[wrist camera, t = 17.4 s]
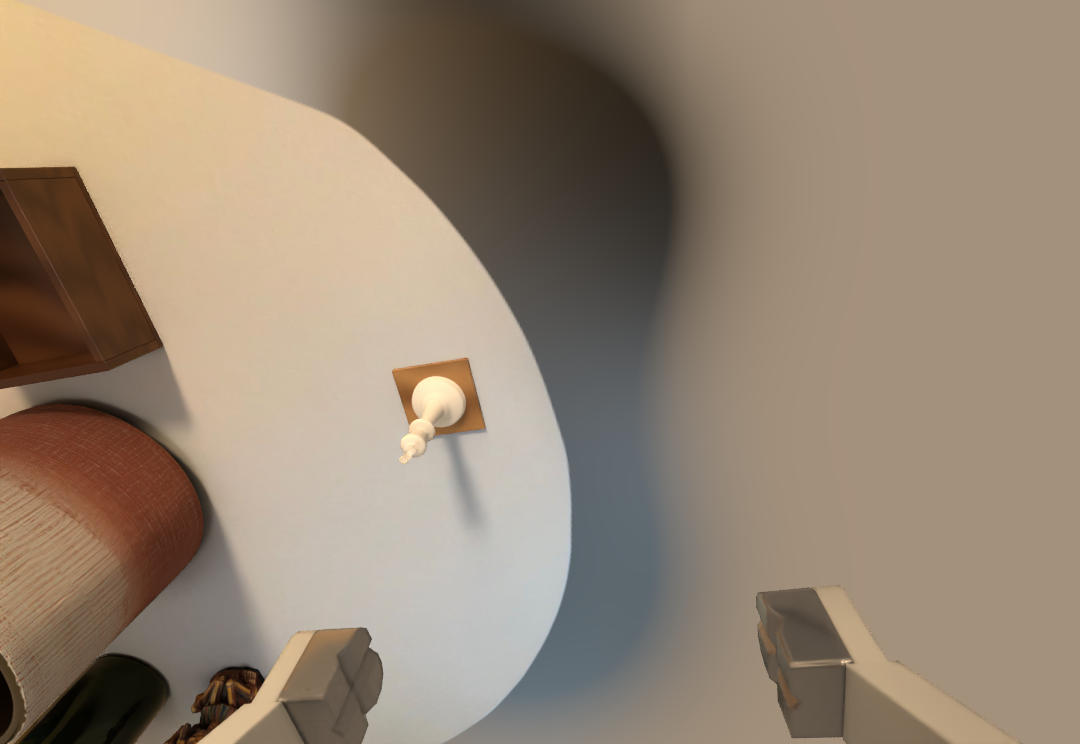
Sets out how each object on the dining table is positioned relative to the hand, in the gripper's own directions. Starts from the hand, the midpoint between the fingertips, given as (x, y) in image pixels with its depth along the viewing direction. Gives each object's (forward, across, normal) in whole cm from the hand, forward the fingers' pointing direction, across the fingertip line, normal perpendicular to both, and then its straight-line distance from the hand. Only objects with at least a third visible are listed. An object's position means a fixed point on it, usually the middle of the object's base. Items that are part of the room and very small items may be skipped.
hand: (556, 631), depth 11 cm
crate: (+34, +46, -8) cm, 58 cm away
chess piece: (+34, +14, +9) cm, 38 cm away
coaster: (+34, +14, +9) cm, 38 cm away
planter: (+34, +52, +14) cm, 64 cm away
